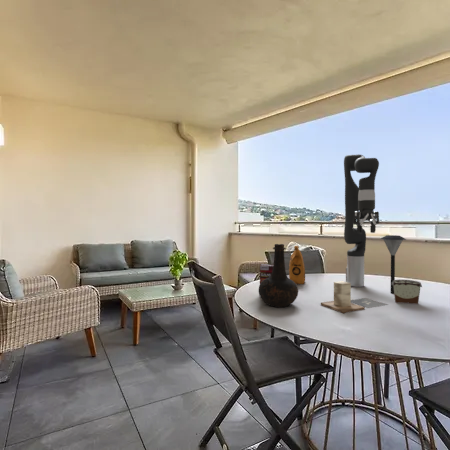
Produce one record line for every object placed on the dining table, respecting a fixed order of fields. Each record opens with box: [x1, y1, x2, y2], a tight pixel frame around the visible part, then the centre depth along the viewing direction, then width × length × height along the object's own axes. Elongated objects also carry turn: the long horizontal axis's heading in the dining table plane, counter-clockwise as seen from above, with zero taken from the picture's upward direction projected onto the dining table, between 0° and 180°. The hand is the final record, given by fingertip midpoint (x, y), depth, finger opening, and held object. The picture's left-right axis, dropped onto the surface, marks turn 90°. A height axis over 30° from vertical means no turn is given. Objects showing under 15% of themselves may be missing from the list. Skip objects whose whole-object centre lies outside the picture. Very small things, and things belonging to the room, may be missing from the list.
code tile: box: [351, 297, 389, 309], centre depth 150 cm, size 13×13×1 cm
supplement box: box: [259, 263, 273, 284], centre depth 164 cm, size 9×5×16 cm, turn 77°
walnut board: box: [320, 300, 366, 314], centre depth 144 cm, size 14×12×1 cm
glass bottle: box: [258, 243, 299, 308], centre depth 149 cm, size 18×18×28 cm
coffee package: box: [288, 245, 306, 285], centre depth 197 cm, size 10×12×22 cm
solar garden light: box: [380, 234, 407, 294], centre depth 168 cm, size 12×12×30 cm
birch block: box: [333, 280, 352, 307], centre depth 144 cm, size 5×5×10 cm
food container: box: [392, 279, 423, 305], centre depth 151 cm, size 12×6×10 cm, turn 71°
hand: (366, 233), depth 157 cm, fingers open, 8 cm apart
